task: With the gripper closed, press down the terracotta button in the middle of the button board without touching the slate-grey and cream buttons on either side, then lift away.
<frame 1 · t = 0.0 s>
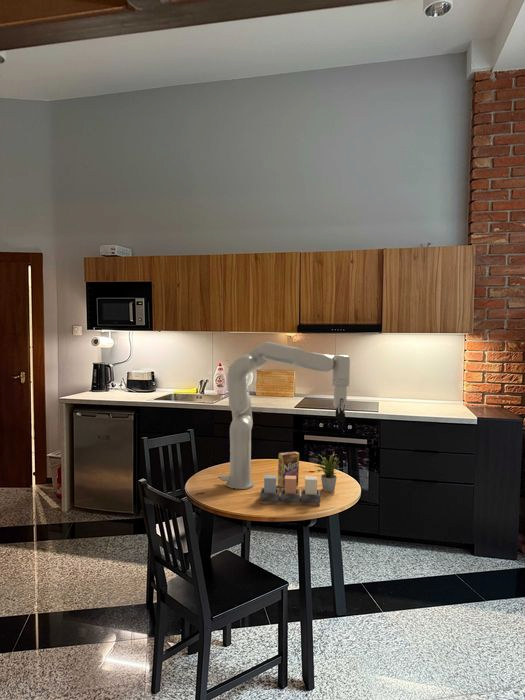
hand: (340, 420, 226), 31 cm above the table, tool pointing down, fingers open, 9 cm apart
cream button: (310, 486, 209), point 6 cm above the table, slide at 0.0 cm
slate button: (270, 484, 210), point 6 cm above the table, slide at 0.0 cm
house plant: (327, 489, 226), on the table
button board: (290, 500, 209), on the table
terracotta button: (290, 485, 209), point 6 cm above the table, slide at 0.0 cm
candy box: (288, 486, 230), on the table
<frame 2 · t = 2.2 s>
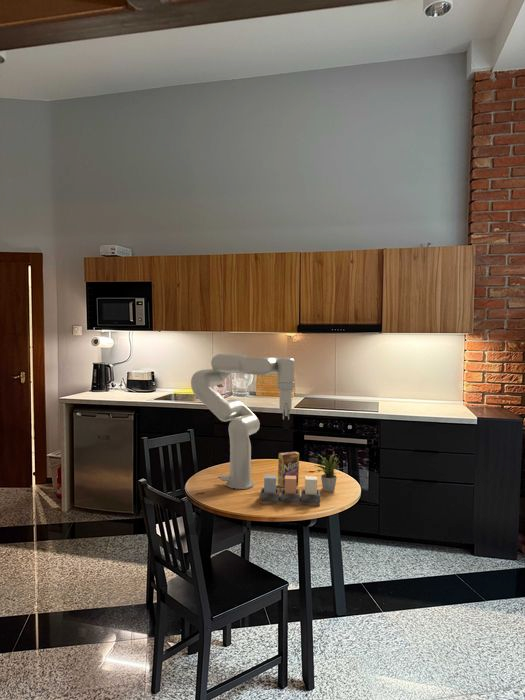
hand: (285, 428, 218), 29 cm above the table, tool pointing down, fingers closed
nothing on the table moved.
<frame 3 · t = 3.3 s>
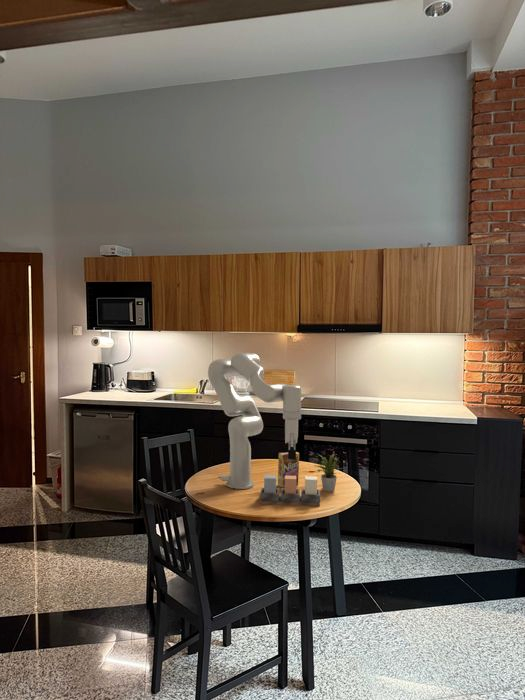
hand: (292, 458, 208), 18 cm above the table, tool pointing down, fingers closed
nothing on the table moved.
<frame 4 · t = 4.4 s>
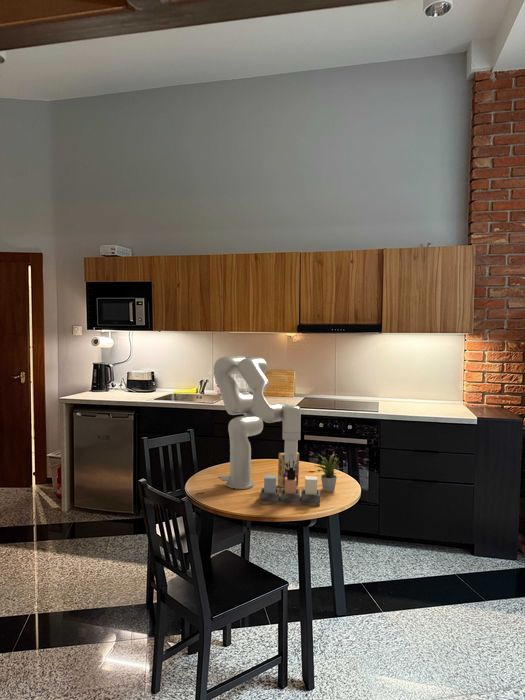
hand: (291, 479, 209), 9 cm above the table, tool pointing down, fingers closed
terracotta button: (290, 487, 209), point 6 cm above the table, slide at 0.8 cm, touching gripper
everything else where it was.
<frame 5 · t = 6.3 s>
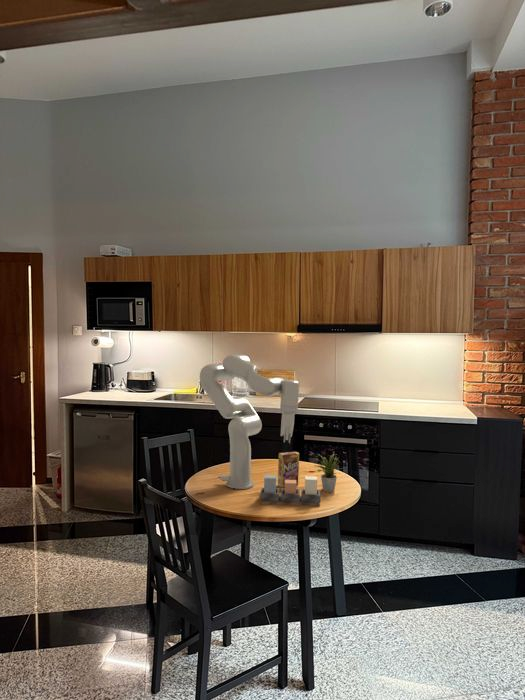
hand: (286, 451, 214), 20 cm above the table, tool pointing down, fingers closed
terracotta button: (290, 489, 209), point 5 cm above the table, slide at 1.8 cm
everything else where it was.
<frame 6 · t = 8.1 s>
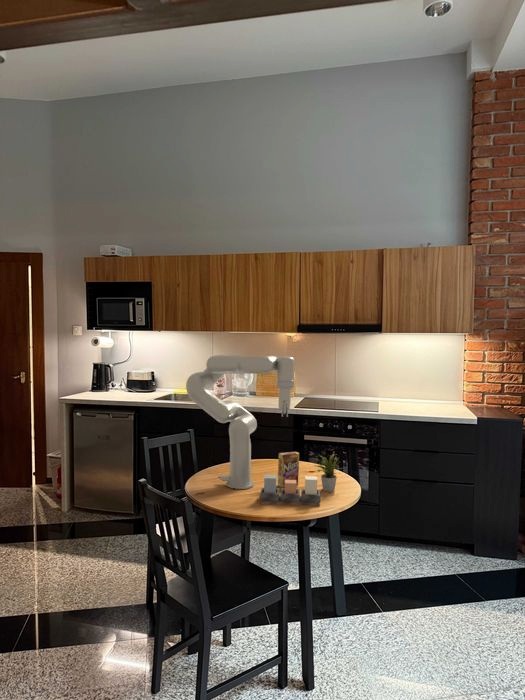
hand: (284, 425, 223), 29 cm above the table, tool pointing down, fingers closed
nothing on the table moved.
at the end: terracotta button slide at 1.8 cm; slate button slide at 0.0 cm; cream button slide at 0.0 cm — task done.
